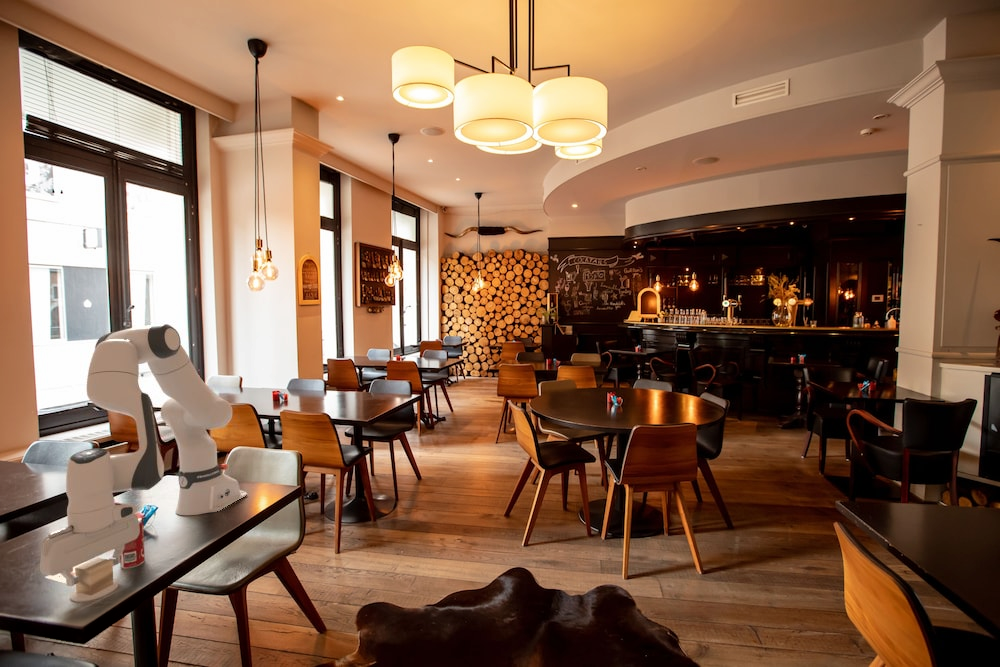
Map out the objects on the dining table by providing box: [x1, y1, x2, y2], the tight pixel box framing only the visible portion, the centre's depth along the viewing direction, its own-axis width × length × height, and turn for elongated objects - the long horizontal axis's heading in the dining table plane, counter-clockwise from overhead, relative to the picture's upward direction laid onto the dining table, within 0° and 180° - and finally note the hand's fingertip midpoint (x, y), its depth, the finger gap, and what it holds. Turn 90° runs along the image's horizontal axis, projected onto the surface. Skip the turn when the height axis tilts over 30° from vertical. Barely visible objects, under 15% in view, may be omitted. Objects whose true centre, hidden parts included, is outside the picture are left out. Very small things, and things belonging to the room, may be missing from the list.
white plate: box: [70, 578, 120, 603], centre depth 118 cm, size 9×9×1 cm
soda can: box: [119, 517, 146, 570], centre depth 131 cm, size 5×5×12 cm
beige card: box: [44, 560, 89, 585], centre depth 127 cm, size 9×9×1 cm
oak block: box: [75, 557, 114, 595], centre depth 118 cm, size 5×5×6 cm
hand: (94, 574), depth 118 cm, fingers open, 8 cm apart
